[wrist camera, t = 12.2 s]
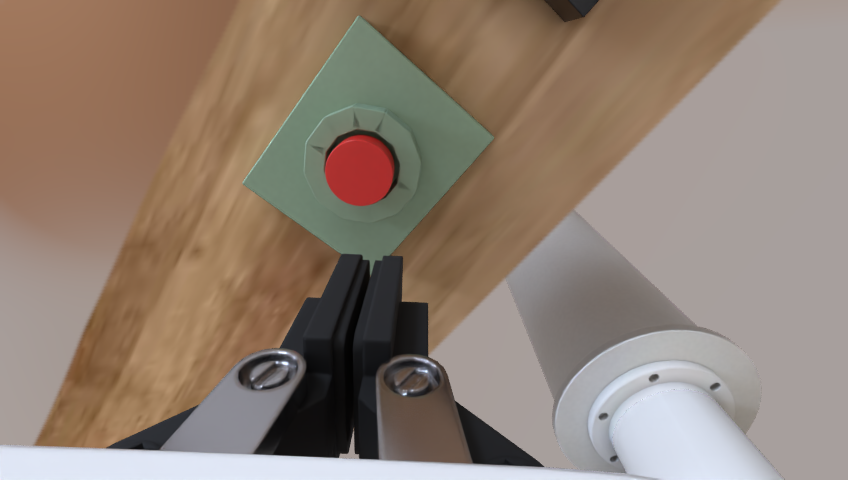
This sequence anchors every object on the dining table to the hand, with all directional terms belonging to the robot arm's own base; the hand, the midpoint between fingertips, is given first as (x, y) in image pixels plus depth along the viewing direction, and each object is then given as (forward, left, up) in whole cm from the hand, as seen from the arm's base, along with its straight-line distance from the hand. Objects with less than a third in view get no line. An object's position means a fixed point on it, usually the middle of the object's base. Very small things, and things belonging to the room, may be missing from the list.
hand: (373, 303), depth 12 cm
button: (+1, +2, -14) cm, 14 cm away
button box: (+1, +2, -17) cm, 17 cm away
